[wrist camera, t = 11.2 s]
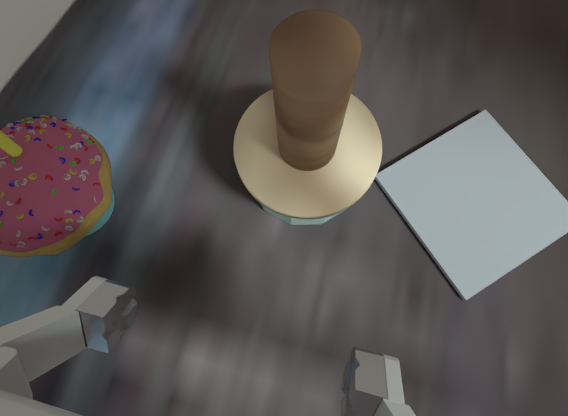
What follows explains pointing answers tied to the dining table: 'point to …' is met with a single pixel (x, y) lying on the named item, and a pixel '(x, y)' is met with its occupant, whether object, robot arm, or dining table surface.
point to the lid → (309, 122)
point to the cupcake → (51, 186)
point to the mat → (476, 203)
